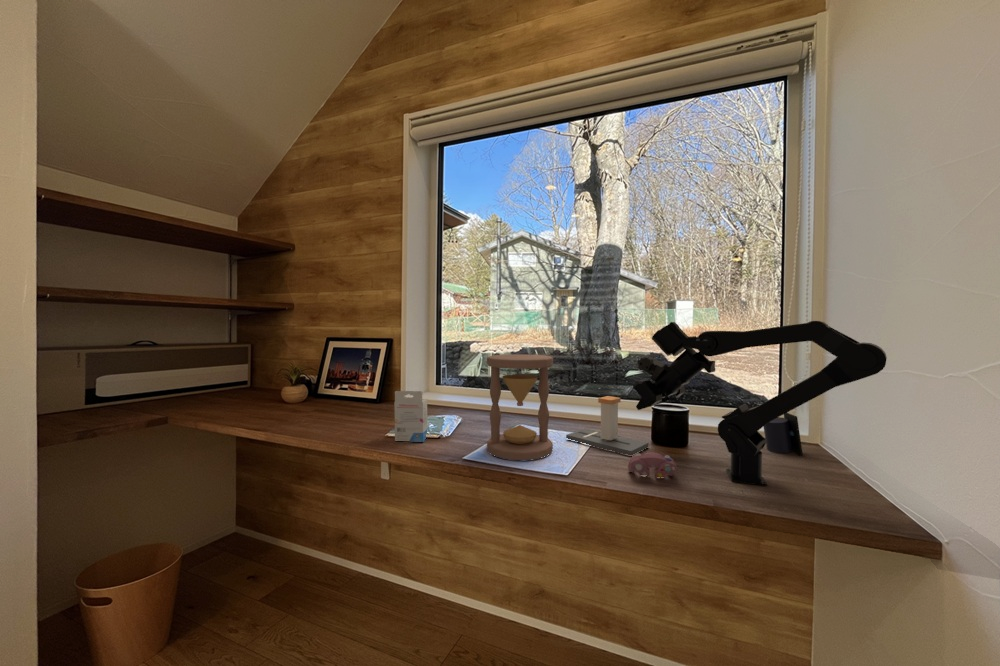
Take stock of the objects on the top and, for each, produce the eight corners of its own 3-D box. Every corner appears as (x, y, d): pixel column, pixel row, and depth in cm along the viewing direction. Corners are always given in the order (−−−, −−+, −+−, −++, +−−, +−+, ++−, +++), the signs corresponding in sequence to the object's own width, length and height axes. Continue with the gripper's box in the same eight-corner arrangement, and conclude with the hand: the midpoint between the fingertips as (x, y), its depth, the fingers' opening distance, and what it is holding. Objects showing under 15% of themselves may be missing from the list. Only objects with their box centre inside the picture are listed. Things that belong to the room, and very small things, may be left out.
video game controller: (628, 483, 85) (630, 460, 82) (626, 467, 89) (628, 444, 86) (676, 487, 83) (680, 464, 80) (672, 471, 87) (676, 448, 84)
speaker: (798, 449, 102) (794, 411, 102) (803, 457, 97) (799, 416, 97) (764, 447, 106) (760, 410, 106) (767, 455, 101) (763, 416, 101)
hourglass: (551, 441, 111) (552, 354, 110) (553, 462, 93) (554, 360, 93) (491, 439, 112) (491, 354, 112) (482, 460, 95) (482, 359, 94)
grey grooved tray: (648, 448, 104) (648, 442, 104) (631, 457, 97) (631, 450, 97) (585, 433, 118) (585, 427, 118) (566, 439, 111) (566, 434, 111)
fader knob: (620, 437, 107) (620, 397, 107) (611, 441, 104) (611, 400, 104) (607, 434, 110) (607, 395, 110) (598, 438, 107) (598, 398, 106)
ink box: (428, 438, 113) (427, 388, 113) (423, 443, 108) (422, 391, 108) (400, 437, 114) (400, 387, 114) (394, 442, 109) (393, 390, 109)
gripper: (673, 344, 103) (634, 380, 111) (641, 347, 90) (599, 388, 98) (704, 376, 98) (660, 412, 106) (675, 384, 85) (628, 424, 93)
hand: (637, 408), depth 101 cm, fingers closed
